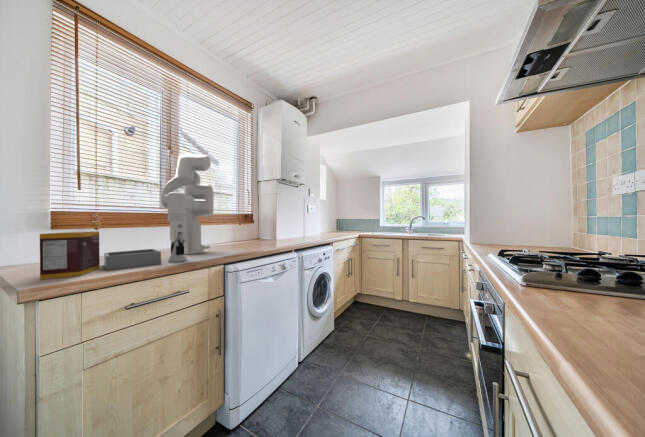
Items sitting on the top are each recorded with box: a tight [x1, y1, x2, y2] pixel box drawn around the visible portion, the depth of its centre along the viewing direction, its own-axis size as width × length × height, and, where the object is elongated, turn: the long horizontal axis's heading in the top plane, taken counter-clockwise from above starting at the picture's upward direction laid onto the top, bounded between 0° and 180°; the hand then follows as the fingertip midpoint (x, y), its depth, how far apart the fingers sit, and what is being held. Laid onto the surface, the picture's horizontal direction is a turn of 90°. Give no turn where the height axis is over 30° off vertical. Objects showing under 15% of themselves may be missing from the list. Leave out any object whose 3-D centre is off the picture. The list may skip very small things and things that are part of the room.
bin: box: [103, 248, 162, 271], centre depth 103 cm, size 18×18×6 cm
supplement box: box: [39, 230, 101, 280], centre depth 86 cm, size 10×15×16 cm
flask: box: [167, 242, 187, 263], centre depth 110 cm, size 7×7×10 cm
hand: (177, 254), depth 109 cm, fingers open, 9 cm apart
